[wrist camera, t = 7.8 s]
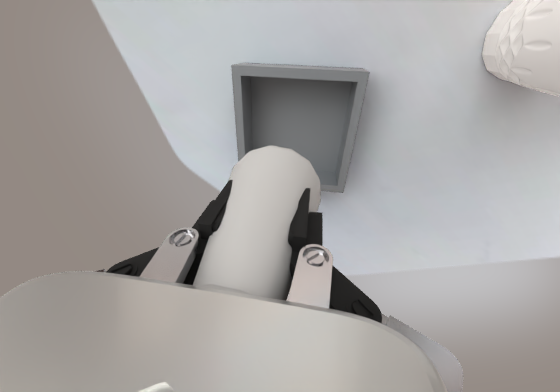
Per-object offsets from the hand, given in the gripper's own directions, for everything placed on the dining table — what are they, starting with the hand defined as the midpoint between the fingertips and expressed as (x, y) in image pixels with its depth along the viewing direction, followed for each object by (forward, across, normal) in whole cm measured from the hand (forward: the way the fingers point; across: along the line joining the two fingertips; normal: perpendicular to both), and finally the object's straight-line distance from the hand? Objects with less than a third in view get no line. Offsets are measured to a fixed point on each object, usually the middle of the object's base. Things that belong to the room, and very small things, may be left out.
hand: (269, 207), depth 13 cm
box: (+16, 0, 0) cm, 16 cm away
